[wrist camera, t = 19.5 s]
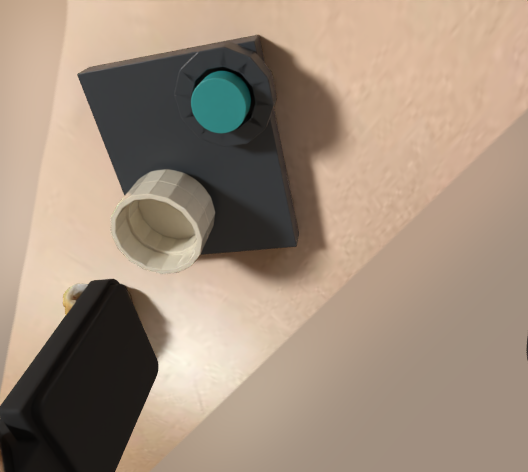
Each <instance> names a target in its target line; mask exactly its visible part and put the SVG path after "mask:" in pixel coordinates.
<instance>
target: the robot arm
mask: <svg viewBox="0 0 528 472" xmlns="http://www.w3.org/2000/svg"><path fill="white" fill-rule="evenodd" d="M527 359H528V338H527ZM157 373H158V361H157V358H156V356H155V353H154V351H153V349H152V347H151V344H150V342H149V340H148V337H147V335H146V333H145V330H144V328H143V326H142V324H141V321H140V319H139V317H138V314H137V312H136V310H135V308H134V305H133V303H132V301H131V298H130V296H129V294H128V292H127V289H126V287H125V286H124V285H122V284H119V282H118V281H117V280H115V279H106V280H94V281H91V282H90V283H89V284H88V286H87V287H86V288H85V290H84V291H83V292H82V294H81V295H80V297H79V298H78V299H77V301H76V302H75V304H74V305H73V306H72V308H71V309H70V310H69V312H68V313H67V315H66V316H65V317H64V319H63V320H62V321H61V323H60V324H59V326H58V327H57V328H56V330H55V331H54V333H53V334H52V335H51V337H50V338H49V339H48V341H47V342H46V344H45V345H44V346H43V348H42V349H41V350H40V352H39V353H38V355H37V356H36V357H35V359H34V360H33V362H32V363H31V364H30V366H29V367H28V368H27V370H26V371H25V373H24V374H23V375H22V377H21V378H20V380H19V381H18V382H17V384H16V385H15V386H14V388H13V389H12V391H11V392H10V393H9V395H8V396H7V397H6V399H5V400H4V402H3V403H2V404H1V406H0V472H115V471H116V468H117V466H118V464H119V461H120V459H121V457H122V455H123V452H124V450H125V448H126V445H127V443H128V441H129V438H130V436H131V434H132V432H133V429H134V427H135V425H136V422H137V420H138V418H139V415H140V413H141V411H142V409H143V406H144V404H145V402H146V399H147V397H148V395H149V392H150V390H151V388H152V386H153V383H154V381H155V379H156V376H157Z"/></svg>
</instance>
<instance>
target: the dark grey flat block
mask: <svg viewBox="0 0 528 472" xmlns="http://www.w3.org/2000/svg"><path fill="white" fill-rule="evenodd" d="M216 71H228V72H231V73H234V74H236V75H237V76H239V77H240V78H241V79H242V80H243V81H244V82H245V83H246V85H247V87H248V89H249V91H250V95H251V105H250V109H249V111H248V113H247V115H246V117H245V119H244V121H243V122H242V124H241V125H240V126H239V127H238V128H237V129H235V130H233V131H231V132H229V133H214V132H211V131H209V130H207V129H205V128H204V127H203V126H202V125H200V124H199V122H198V121H197V120H196V118H195V116H194V114H193V111H192V107H191V98H192V94H193V92H194V90H195V88H196V87H197V86H198V85H199V84H200V83H201V81H202V80H203V79H204V78H205V77H206V76H208V75H209V74H211V73H213V72H216ZM77 75H78V78H79V80H80V83H81V85H82V88H83V90H84V93H85V96H86V98H87V101H88V103H89V106H90V108H91V111H92V113H93V116H94V119H95V121H96V124H97V126H98V129H99V131H100V134H101V136H102V139H103V142H104V144H105V147H106V149H107V152H108V154H109V157H110V159H111V162H112V165H113V167H114V170H115V172H116V175H117V177H118V180H119V182H120V185H121V188H122V190H123V193H124V195H126V194H127V193H128V191H129V190H130V189H131V188H132V187H133V185H134V184H135V183H136V182H137V180H138V179H140V178H141V177H143V176H144V175H146V174H147V173H149V172H151V171H157V170H165V169H167V170H168V169H169V170H175V171H179V172H183V173H185V174H187V175H189V176H191V177H193V178H194V179H196V180H197V181H198V182H199V183H200V184H201V185H202V186H203V187H204V188H205V189H206V191H207V192H208V194H209V195H210V197H211V199H212V203H213V206H214V210H215V218H214V225H213V228H212V230H211V232H210V234H209V236H208V238H207V241H206V243H205V245H204V247H203V249H202V252H201V254H200V255H202V254H214V253H226V252H238V251H249V250H261V249H273V248H285V247H296V246H297V241H298V236H299V232H298V227H297V222H296V217H295V212H294V207H293V202H292V197H291V192H290V187H289V182H288V177H287V172H286V167H285V162H284V157H283V152H282V147H281V142H280V137H279V132H278V127H277V122H276V117H275V112H274V105H275V102H276V100H277V96H276V90H275V85H274V80H273V75H272V73H271V70H270V69H269V68H268V67H267V66H266V64H265V62H264V57H263V52H262V47H261V42H260V37H259V35H254V36H249V37H244V38H239V39H234V40H228V41H223V42H218V43H213V44H208V45H202V46H197V47H192V48H187V49H182V50H176V51H171V52H166V53H161V54H156V55H150V56H145V57H140V58H135V59H130V60H124V61H119V62H114V63H109V64H104V65H98V66H93V67H89V68H87V69H85V70H84V71H82V72H80V73H78V74H77Z"/></svg>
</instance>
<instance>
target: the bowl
mask: <svg viewBox="0 0 528 472" xmlns="http://www.w3.org/2000/svg"><path fill="white" fill-rule="evenodd" d="M214 218H215V210H214V206H213V203H212V199H211V197H210V195H209V194H208V192H207V191H206V189H205V188H204V187H203V186H202V185H201V184H200V183H199V182H198V181H197V180H196V179H194V178H193V177H191V176H189V175H187V174H185V173H183V172H179V171H175V170H169V169H168V170H167V169H165V170H157V171H151V172H149V173H147V174H146V175H144V176H143V177H141V178H140V179H138V180H137V182H136V183H135V184H134V185H133V187H132V188H131V189H130V190H129V191H128V193H127V194H126V195H125V196H124V197H123V199H122V200H121V201H120V202H119V204H118V205H117V207H116V209H115V210H114V212H113V214H112V216H111V234H112V237H113V239H114V241H115V244H116V246H117V248H118V249H119V250H120V251H121V252H122V253H123V254H124V256H125V257H126V258H127V259H128V260H129V261H131V262H132V263H134V264H136V265H137V266H139V267H141V268H142V269H145V270H148V271H152V272H156V273H160V274H168V273H178V272H180V271H182V270H184V269H186V268H188V267H190V266H192V265H193V263H194V262H195V261H196V259H197V258H198V257H199V255H200V254H201V252H202V249H203V247H204V245H205V243H206V241H207V238H208V236H209V234H210V232H211V230H212V228H213V225H214Z"/></svg>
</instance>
